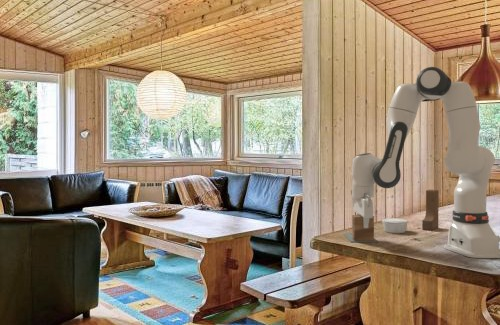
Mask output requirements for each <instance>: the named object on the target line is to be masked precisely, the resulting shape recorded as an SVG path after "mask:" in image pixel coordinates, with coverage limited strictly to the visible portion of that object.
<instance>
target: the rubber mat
mask: <svg viewBox="0 0 500 325" xmlns="http://www.w3.org/2000/svg"><path fill="white" fill-rule="evenodd" d="M343 235H344V237H345V238H346V239H347V240H348V242H350V243H379V240H377V239H376V238H375V237H374V241H354V240H353V239H352V233H349V232H347V233H345V232H344V233H343Z"/></svg>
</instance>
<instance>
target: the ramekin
mask: <svg viewBox="0 0 500 325" xmlns="http://www.w3.org/2000/svg"><path fill="white" fill-rule="evenodd" d="M381 222H382V225H383V230H384V232H386V233H389V234H404V233H406V232H407V227H408V223H409V221H408V219H405V218H399V217H398V218H397V217H394V218H392V217H388V218H383V219H382V220H381Z"/></svg>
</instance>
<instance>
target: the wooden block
mask: <svg viewBox="0 0 500 325" xmlns="http://www.w3.org/2000/svg"><path fill="white" fill-rule="evenodd" d="M439 194H440V193H439V190H438V189H427V190H425V216H424V218H423V219H422V220H421V221H422V222H421V224H422V225H421V227H422V228H421V229H422V230H423V231H430V230H431V231H434V230H437V229H438V228H439Z"/></svg>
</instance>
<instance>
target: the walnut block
mask: <svg viewBox="0 0 500 325" xmlns="http://www.w3.org/2000/svg"><path fill="white" fill-rule="evenodd" d="M351 217H352V219H351V221H352V222H351V223H352V224H351V226H352V229H351V230H352V231H351V232H352V239H353V240H354V241H374V238H375V231H374V230H375V216H374V215H373V218H369V224H368V228H364V227H363V223H364V220H363V217H362V216H361V215H357V214H352V215H351Z"/></svg>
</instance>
